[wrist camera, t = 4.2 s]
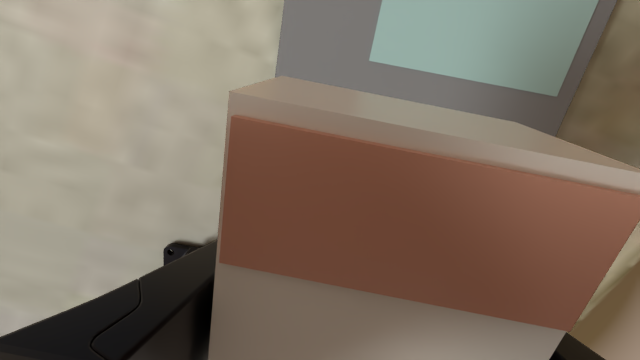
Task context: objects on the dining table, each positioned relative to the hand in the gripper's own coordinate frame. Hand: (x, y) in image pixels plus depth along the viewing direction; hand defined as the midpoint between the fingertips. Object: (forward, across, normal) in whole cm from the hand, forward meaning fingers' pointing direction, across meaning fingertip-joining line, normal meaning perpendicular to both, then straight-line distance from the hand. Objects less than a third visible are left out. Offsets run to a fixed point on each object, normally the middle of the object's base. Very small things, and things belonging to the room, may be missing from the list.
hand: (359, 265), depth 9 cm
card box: (+1, 0, 0) cm, 1 cm away
